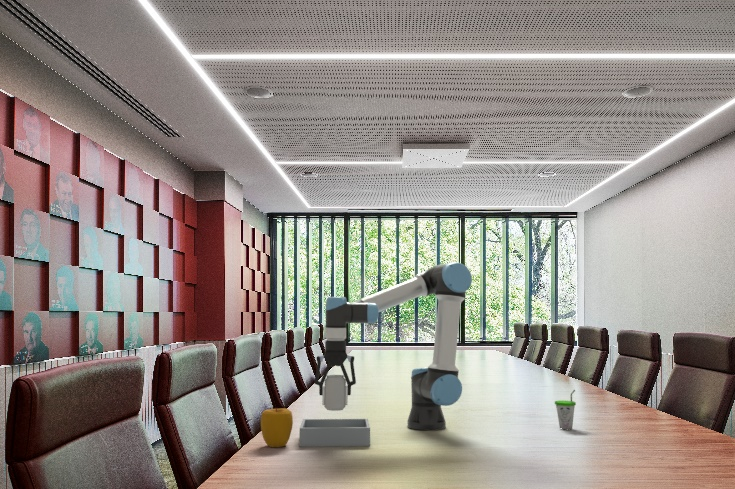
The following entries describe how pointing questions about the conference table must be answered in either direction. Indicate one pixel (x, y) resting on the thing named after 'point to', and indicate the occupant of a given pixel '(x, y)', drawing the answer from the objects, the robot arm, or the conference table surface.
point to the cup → (565, 413)
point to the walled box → (334, 432)
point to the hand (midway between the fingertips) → (334, 404)
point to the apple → (276, 426)
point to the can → (335, 392)
